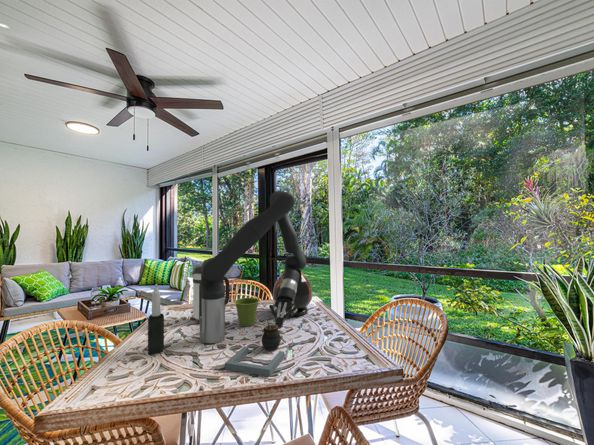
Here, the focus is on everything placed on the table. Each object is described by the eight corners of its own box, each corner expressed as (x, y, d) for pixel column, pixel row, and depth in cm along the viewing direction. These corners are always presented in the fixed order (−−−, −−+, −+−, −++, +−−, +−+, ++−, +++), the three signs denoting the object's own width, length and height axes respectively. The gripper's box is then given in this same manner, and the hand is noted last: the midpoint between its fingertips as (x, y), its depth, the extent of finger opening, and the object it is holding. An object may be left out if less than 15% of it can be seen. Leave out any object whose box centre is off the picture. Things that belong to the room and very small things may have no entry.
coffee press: (214, 325, 132) (214, 261, 133) (184, 323, 135) (183, 261, 136) (230, 314, 149) (229, 258, 150) (202, 313, 152) (202, 257, 153)
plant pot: (229, 327, 129) (229, 303, 129) (241, 319, 140) (240, 297, 141) (253, 329, 126) (253, 304, 126) (263, 321, 138) (263, 298, 138)
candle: (149, 349, 106) (149, 283, 107) (164, 347, 108) (164, 282, 109) (147, 355, 101) (147, 285, 102) (162, 353, 103) (163, 284, 104)
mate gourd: (268, 353, 102) (268, 326, 102) (257, 347, 108) (257, 321, 108) (284, 348, 106) (283, 321, 107) (273, 342, 112) (272, 317, 112)
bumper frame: (224, 369, 91) (224, 362, 91) (244, 352, 103) (244, 346, 103) (269, 376, 86) (269, 369, 86) (284, 357, 99) (284, 351, 99)
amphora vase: (267, 309, 157) (267, 259, 158) (302, 305, 166) (301, 257, 167) (281, 321, 137) (281, 264, 138) (320, 315, 146) (319, 261, 147)
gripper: (271, 285, 126) (260, 321, 114) (300, 287, 122) (291, 324, 110) (276, 294, 131) (265, 330, 119) (303, 296, 127) (295, 333, 115)
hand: (278, 327), depth 115 cm, fingers closed
